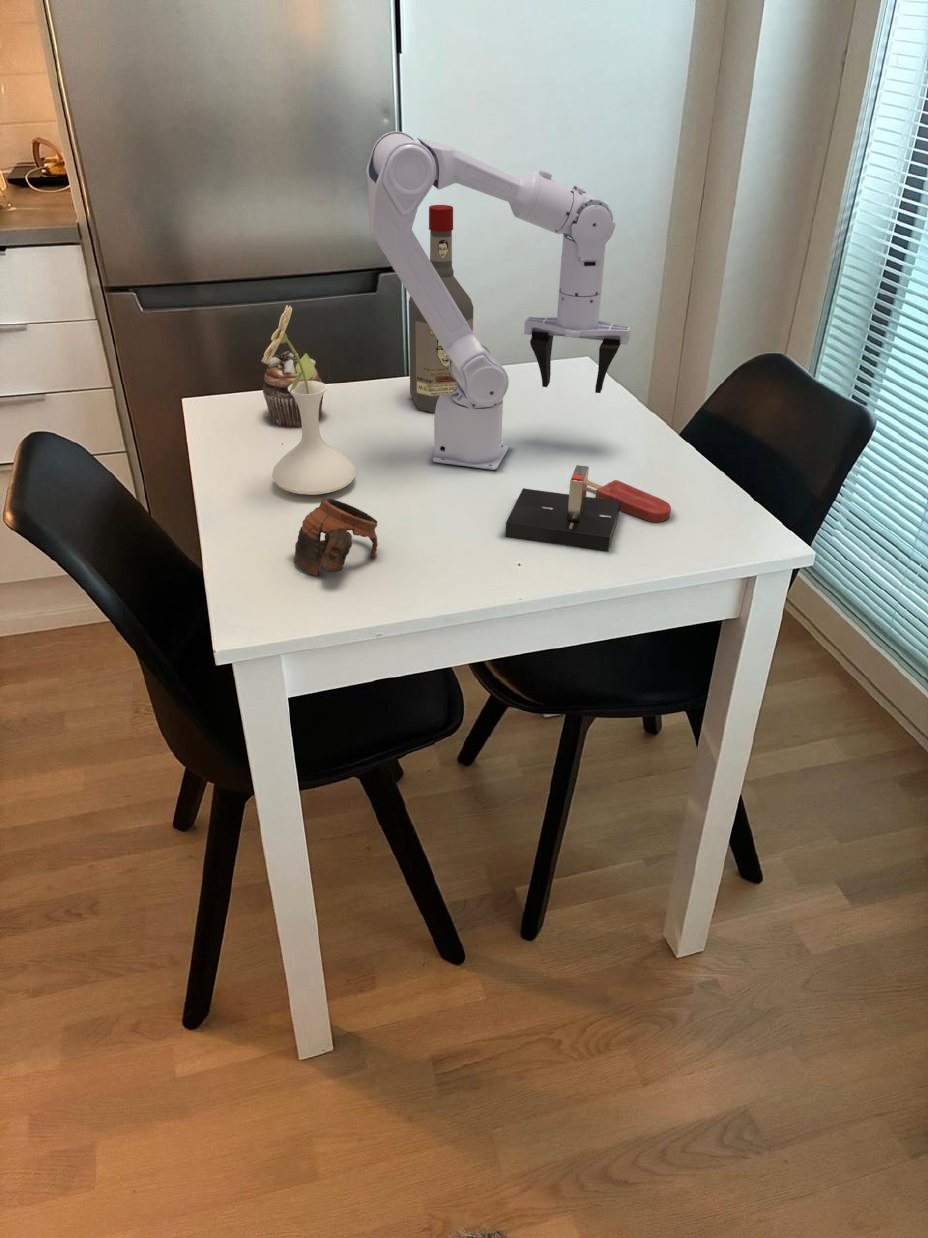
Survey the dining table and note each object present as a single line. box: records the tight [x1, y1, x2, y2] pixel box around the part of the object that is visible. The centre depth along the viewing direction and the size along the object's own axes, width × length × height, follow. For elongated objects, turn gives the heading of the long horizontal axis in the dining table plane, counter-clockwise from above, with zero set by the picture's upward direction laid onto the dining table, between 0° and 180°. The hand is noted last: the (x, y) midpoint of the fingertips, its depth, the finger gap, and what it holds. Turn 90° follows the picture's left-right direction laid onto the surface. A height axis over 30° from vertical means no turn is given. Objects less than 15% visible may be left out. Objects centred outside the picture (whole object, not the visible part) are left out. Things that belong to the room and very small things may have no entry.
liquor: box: [408, 204, 474, 414], centre depth 148 cm, size 9×9×30 cm
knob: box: [567, 464, 590, 521], centre depth 119 cm, size 5×2×6 cm, turn 165°
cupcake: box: [261, 349, 324, 428], centre depth 147 cm, size 10×10×10 cm
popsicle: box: [587, 479, 672, 523], centre depth 127 cm, size 4×2×15 cm
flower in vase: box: [261, 304, 357, 496], centre depth 123 cm, size 13×11×25 cm
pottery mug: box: [293, 497, 379, 577], centre depth 112 cm, size 12×10×8 cm
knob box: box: [504, 487, 620, 552], centre depth 121 cm, size 13×10×2 cm
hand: (572, 387), depth 136 cm, fingers open, 7 cm apart
